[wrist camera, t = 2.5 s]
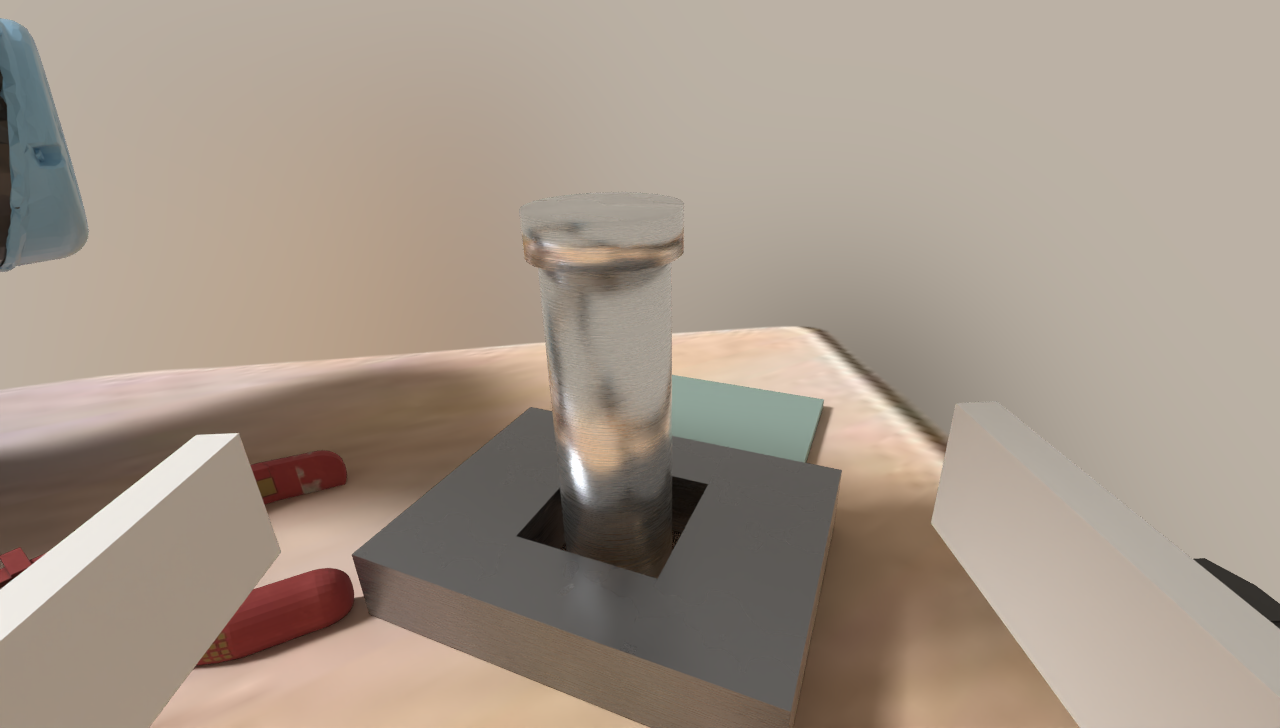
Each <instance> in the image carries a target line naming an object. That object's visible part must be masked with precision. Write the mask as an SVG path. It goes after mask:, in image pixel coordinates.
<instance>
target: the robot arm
mask: <svg viewBox="0 0 1280 728" xmlns="http://www.w3.org/2000/svg"><path fill="white" fill-rule="evenodd" d="M88 232H89V231H88V224H87V219H86V215H85V210H84V206H83V203H82V199H81V195H80V191H79V187H78V184H77V180H76V177H75V173H74V169H73V166H72V162H71V159H70V155H69V152H68V148H67V145H66V141H65V138H64V134H63V131H62V127H61V124H60V121H59V117H58V114H57V111H56V107H55V104H54V101H53V98H52V94H51V91H50V87H49V84H48V81H47V78H46V75H45V71H44V68H43V65H42V62H41V59H40V56H39V53H38V50H37V47H36V45H35V42H34V40H33V38H32V36H31V35H30V33H29V32H28V30H27V29H26V28H25V27H24V26H22V25H20V24H18V23H17V22H15V21H12V20H8V19H1V18H0V272H5V271H9V270H12V269H13V268H15V266H20V265H25V264H31V263H37V262H43V261H49V260H55V259H61V258H65V257H68V256H71V255H73V254H75V253H77V252H78V251H79V250H80V249H82V247H83V246H84V245H85V243H86V241H87V239H88ZM931 524H932V526H933V527H934V528H935V530H936V531H937V532H938V534H939V535H940V536H941V538H942V539H943V541H944V542H945V543H946V545H947V546H948V547H949V549H950V550H951V552H952V553H953V554H954V556H955V557H956V558H957V560H958V561H959V563H960V564H961V565H962V567H963V568H964V569H965V571H966V572H967V574H968V575H969V576H970V578H971V579H972V580H973V582H974V583H975V585H976V586H977V587H978V589H979V590H980V591H981V593H982V594H983V596H984V597H985V598H986V600H987V601H988V602H989V604H990V605H991V606H992V608H993V609H994V611H995V612H996V613H997V615H998V616H999V617H1000V619H1001V620H1002V622H1003V623H1004V624H1005V626H1006V627H1007V628H1008V630H1009V631H1010V633H1011V634H1012V635H1013V637H1014V638H1015V639H1016V641H1017V642H1018V644H1019V645H1020V646H1021V648H1022V649H1023V650H1024V652H1025V653H1026V655H1027V656H1028V657H1029V659H1030V660H1031V661H1032V663H1033V664H1034V665H1035V667H1036V668H1037V670H1038V671H1039V672H1040V674H1041V675H1042V676H1043V678H1044V679H1045V681H1046V682H1047V683H1048V685H1049V686H1050V687H1051V689H1052V690H1053V692H1054V693H1055V694H1056V696H1057V697H1058V698H1059V700H1060V701H1061V703H1062V704H1063V705H1064V707H1065V708H1066V709H1067V711H1068V712H1069V714H1070V715H1071V716H1072V718H1073V719H1074V720H1075V722H1076V723H1077V725H1078V726H1079V727H1080V728H1280V604H1279V603H1278V602H1277V601H1275V600H1274V599H1273V598H1271V597H1270V596H1269V595H1267V594H1266V593H1265V592H1263V591H1262V590H1261V589H1259V588H1258V587H1257V586H1255V585H1254V584H1252V583H1250V582H1248V581H1246V580H1244V579H1242V578H1241V577H1238V576H1237V575H1235V574H1233V573H1231V572H1229V571H1227V570H1225V569H1224V568H1222V567H1220V566H1218V565H1216V564H1214V563H1212V562H1211V561H1209V560H1207V559H1205V558H1202V559H1201V558H1200V559H1192V558H1190V556H1188V555H1187V554H1186V553H1185V552H1183V551H1182V550H1181V549H1180V548H1178V547H1177V546H1176V545H1175V544H1173V543H1172V542H1171V541H1170V540H1168V539H1167V538H1166V537H1165V536H1164V535H1162V534H1161V533H1160V532H1159V531H1157V530H1156V529H1155V528H1154V527H1152V526H1151V525H1150V524H1148V523H1147V522H1146V521H1145V520H1143V519H1142V518H1141V517H1140V516H1139V515H1137V514H1136V513H1135V512H1134V511H1133V510H1131V509H1130V508H1129V507H1128V506H1126V505H1125V504H1124V503H1123V502H1121V501H1120V500H1119V499H1118V498H1116V497H1115V496H1114V495H1112V494H1111V493H1110V492H1109V491H1108V490H1106V489H1105V488H1104V487H1102V486H1101V485H1100V484H1099V483H1098V482H1096V481H1095V480H1094V479H1093V478H1091V477H1090V476H1089V475H1088V474H1086V473H1085V472H1084V471H1083V470H1082V469H1080V468H1079V467H1078V466H1077V465H1075V464H1074V463H1073V462H1072V461H1070V460H1069V459H1068V458H1067V457H1065V456H1064V455H1063V454H1062V453H1060V452H1059V451H1058V450H1057V449H1055V448H1054V447H1053V446H1052V445H1050V444H1049V443H1048V442H1047V441H1046V440H1044V439H1043V438H1042V437H1041V436H1039V435H1038V434H1037V433H1036V432H1034V431H1033V430H1032V429H1031V428H1029V427H1028V426H1027V425H1026V424H1024V423H1023V422H1022V421H1021V420H1020V419H1018V418H1017V417H1016V416H1015V415H1013V414H1012V413H1011V412H1009V411H1008V410H1007V409H1006V408H1005V407H1003V406H1002V405H1001V404H1000V403H998V402H976V403H975V402H974V403H956V406H955V411H954V415H953V420H952V425H951V430H950V434H949V439H948V444H947V449H946V453H945V458H944V463H943V468H942V472H941V477H940V482H939V487H938V492H937V496H936V501H935V506H934V511H933V515H932V520H931ZM280 553H281V550H280V547H279V544H278V541H277V539H276V536H275V533H274V530H273V527H272V525H271V522H270V519H269V516H268V513H267V511H266V508H265V505H264V502H263V499H262V497H261V494H260V491H259V488H258V485H257V483H256V480H255V477H254V474H253V471H252V469H251V466H250V463H249V460H248V457H247V455H246V452H245V449H244V446H243V443H242V441H241V438H240V435H239V433H229V434H205V435H196V436H194V437H193V438H192V439H190V440H189V441H188V442H187V443H185V444H184V445H183V446H182V447H180V448H179V449H178V450H177V451H175V452H174V453H173V454H171V455H170V456H169V457H168V458H166V459H165V460H164V461H163V462H161V463H160V464H159V465H157V466H156V467H155V468H154V469H152V470H151V471H150V472H149V473H147V474H146V475H145V476H144V477H142V478H141V479H140V480H138V481H137V482H136V483H135V484H133V485H132V486H131V487H130V488H128V489H127V490H126V491H125V492H123V493H122V494H121V495H119V496H118V497H117V498H116V499H114V500H113V501H112V502H111V503H109V504H108V505H107V506H106V507H104V508H103V509H102V510H100V511H99V512H98V513H97V514H95V515H94V516H93V517H92V518H90V519H89V520H88V521H87V522H85V523H84V524H83V525H81V526H80V527H79V528H78V529H76V530H75V531H74V532H73V533H71V534H70V535H69V536H67V537H66V538H65V539H64V540H62V541H61V542H60V543H59V544H57V545H56V546H55V547H54V548H52V549H51V550H50V551H48V552H47V553H46V554H45V555H43V556H42V557H41V558H40V559H38V560H37V561H36V562H35V563H33V564H32V565H31V566H29V567H28V568H27V569H26V570H24V571H23V572H22V573H21V574H19V575H18V576H17V577H16V578H14V579H13V580H12V581H10V582H9V583H8V584H7V585H5V586H4V587H3V588H2V589H0V728H149V727H150V726H151V724H152V723H153V722H154V720H155V719H156V718H157V716H158V715H159V714H160V712H161V711H162V710H163V708H164V707H165V706H166V704H167V703H168V702H169V700H170V699H171V698H172V696H173V695H174V694H175V692H176V691H177V690H178V688H179V687H180V686H181V684H182V683H183V682H184V680H185V679H186V678H187V676H188V675H189V674H190V672H191V671H192V670H193V669H194V667H195V666H196V665H197V663H198V662H199V661H200V659H201V658H202V657H203V655H204V654H205V653H206V651H207V650H208V649H209V647H210V646H211V645H212V643H213V642H214V641H215V639H216V638H217V637H218V635H219V634H220V633H221V631H222V630H223V629H224V627H225V626H226V625H227V623H228V622H229V621H230V619H231V618H232V617H233V615H234V614H235V613H236V611H237V610H238V609H239V607H240V606H241V605H242V603H243V602H244V601H245V599H246V598H247V597H248V595H249V594H250V593H251V591H252V590H253V589H254V587H255V586H256V585H257V583H258V582H259V581H260V579H261V578H262V577H263V575H264V574H265V573H266V571H267V570H268V569H269V568H270V566H271V565H272V564H273V562H274V561H275V560H276V558H277V557H278V556H279V554H280Z"/></svg>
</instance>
